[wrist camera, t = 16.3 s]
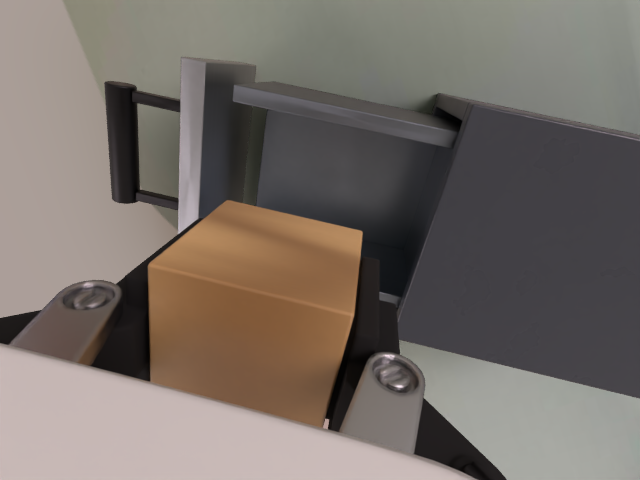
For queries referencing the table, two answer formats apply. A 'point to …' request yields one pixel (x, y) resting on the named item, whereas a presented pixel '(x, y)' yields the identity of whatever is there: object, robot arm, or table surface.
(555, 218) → the cabinet
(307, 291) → the block
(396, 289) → the pull-out drawer
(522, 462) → the table surface
